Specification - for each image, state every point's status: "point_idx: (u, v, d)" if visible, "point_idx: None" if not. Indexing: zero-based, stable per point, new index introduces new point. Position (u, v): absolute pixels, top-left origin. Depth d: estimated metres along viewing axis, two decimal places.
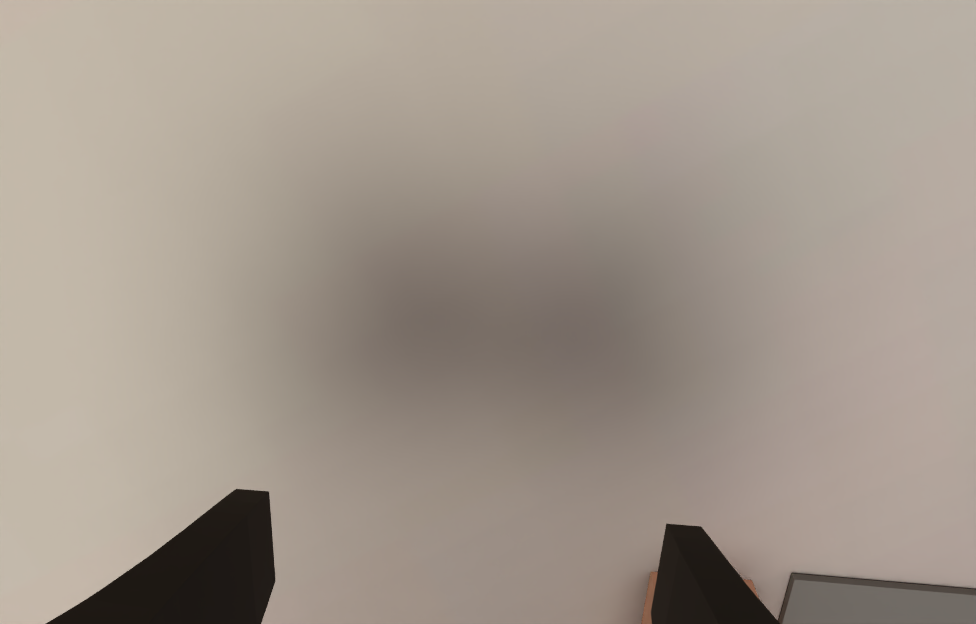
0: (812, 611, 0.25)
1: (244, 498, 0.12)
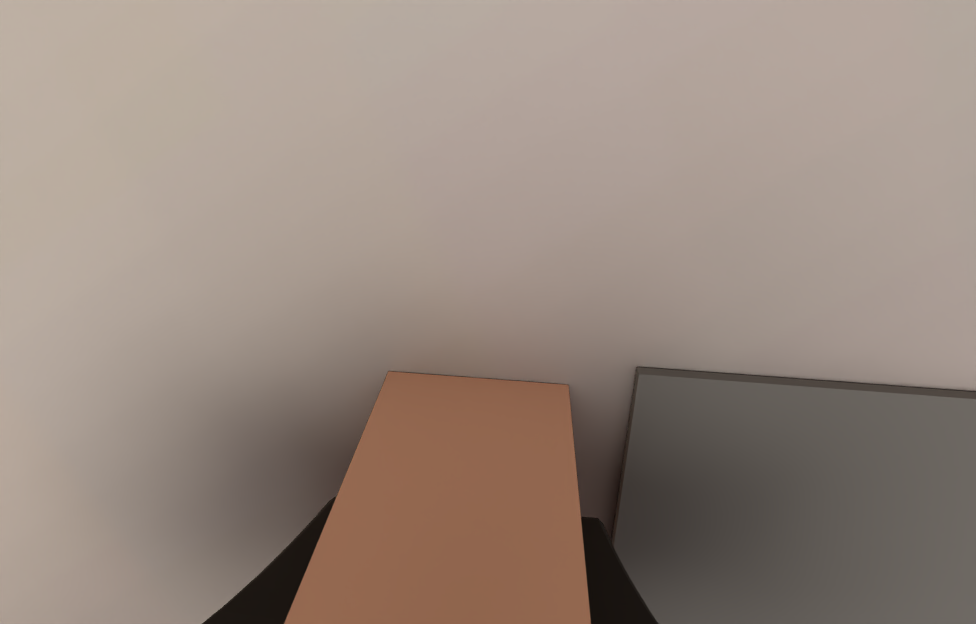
0: (677, 439, 0.14)
1: None
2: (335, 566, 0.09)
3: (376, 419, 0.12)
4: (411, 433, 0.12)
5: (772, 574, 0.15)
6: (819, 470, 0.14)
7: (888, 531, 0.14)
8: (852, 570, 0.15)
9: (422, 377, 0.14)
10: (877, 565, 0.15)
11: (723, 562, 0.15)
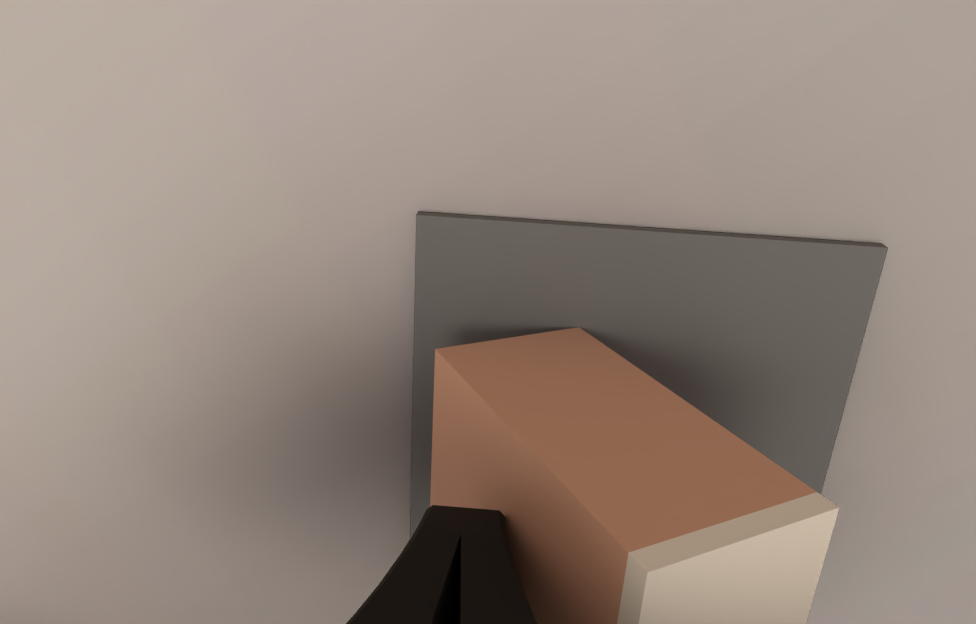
0: (455, 276, 0.16)
1: (447, 514, 0.12)
2: (597, 494, 0.11)
3: (479, 387, 0.13)
4: (519, 390, 0.13)
5: None
6: (579, 303, 0.16)
7: (646, 361, 0.17)
8: None
9: (468, 347, 0.15)
10: None
11: None
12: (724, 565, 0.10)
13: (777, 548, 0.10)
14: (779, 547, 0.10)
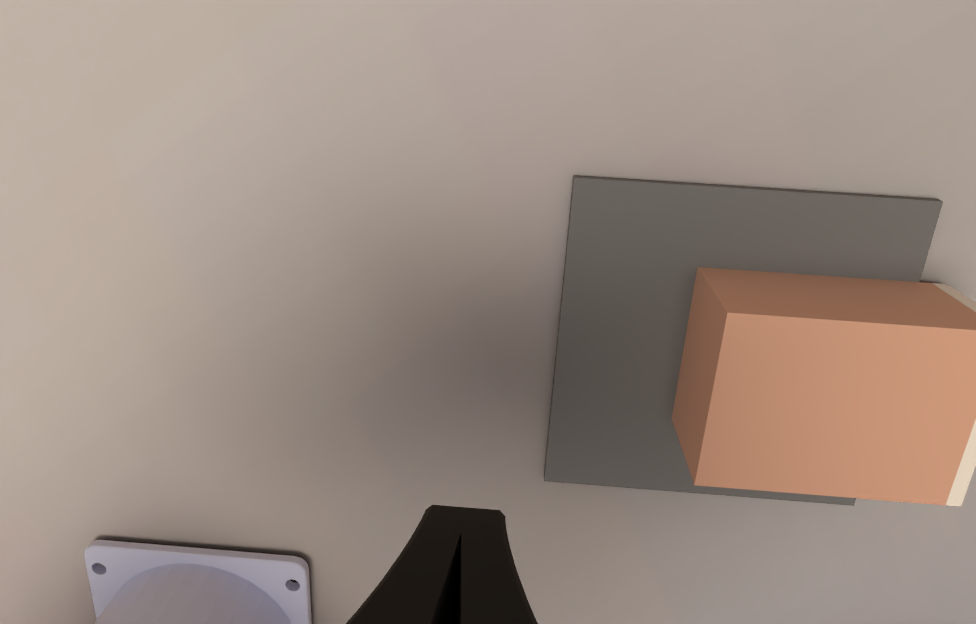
0: (601, 226, 0.21)
1: (447, 515, 0.12)
2: (947, 323, 0.18)
3: (801, 315, 0.18)
4: (807, 307, 0.18)
5: (671, 331, 0.22)
6: (698, 248, 0.21)
7: None
8: None
9: (726, 302, 0.18)
10: None
11: (637, 321, 0.22)
12: None
13: None
14: None
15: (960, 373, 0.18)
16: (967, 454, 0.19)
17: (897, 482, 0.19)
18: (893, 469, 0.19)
